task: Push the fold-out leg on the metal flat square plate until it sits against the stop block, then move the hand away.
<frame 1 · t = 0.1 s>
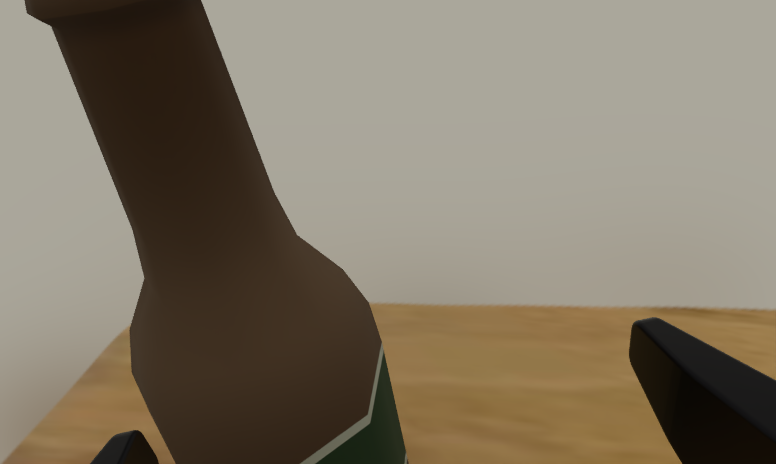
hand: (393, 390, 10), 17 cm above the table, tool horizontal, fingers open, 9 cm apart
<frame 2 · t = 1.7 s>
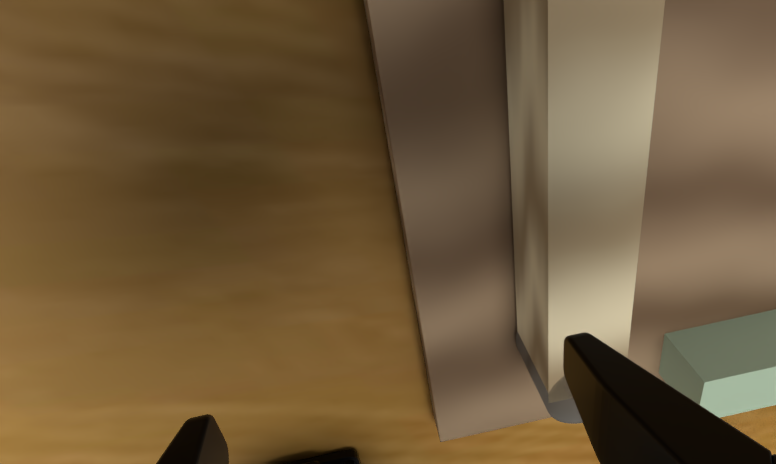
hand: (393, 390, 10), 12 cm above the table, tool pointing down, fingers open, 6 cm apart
fold-out leg: (571, 224, 19), point 4 cm above the table, hinge at 0.0°
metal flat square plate: (651, 190, 23), on the table
stop block: (742, 336, 27), resting on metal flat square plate
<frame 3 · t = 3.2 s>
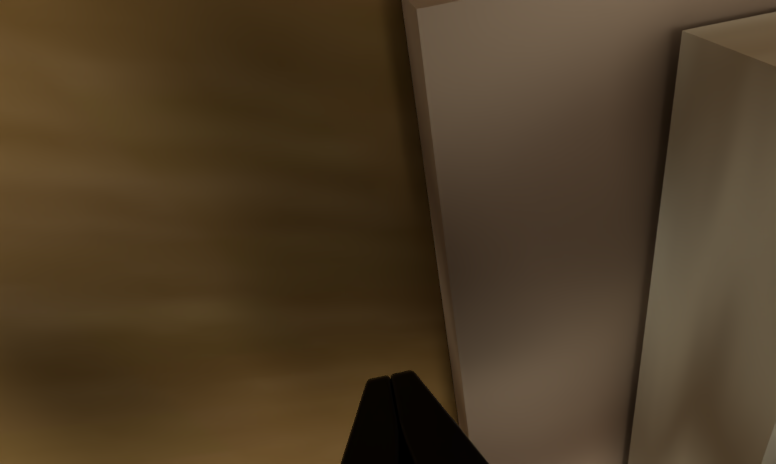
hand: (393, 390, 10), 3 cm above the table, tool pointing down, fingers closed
fold-out leg: (748, 441, 12), point 4 cm above the table, hinge at 0.0°
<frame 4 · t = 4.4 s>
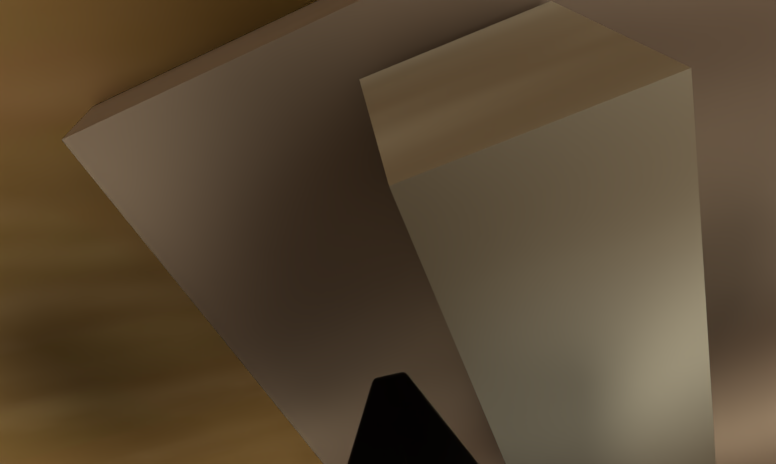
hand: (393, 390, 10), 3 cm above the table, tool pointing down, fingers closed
fold-out leg: (590, 459, 11), point 4 cm above the table, hinge at -2.1°, touching gripper
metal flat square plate: (719, 313, 15), on the table
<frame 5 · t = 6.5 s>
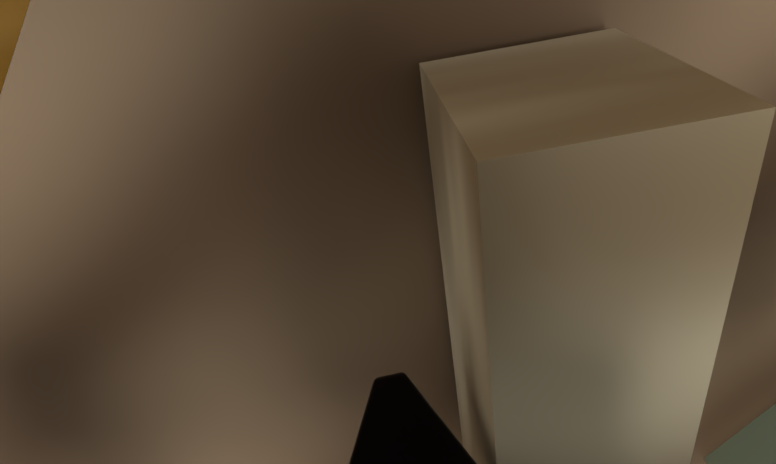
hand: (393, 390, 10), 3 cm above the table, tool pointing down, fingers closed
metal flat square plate: (483, 347, 14), on the table
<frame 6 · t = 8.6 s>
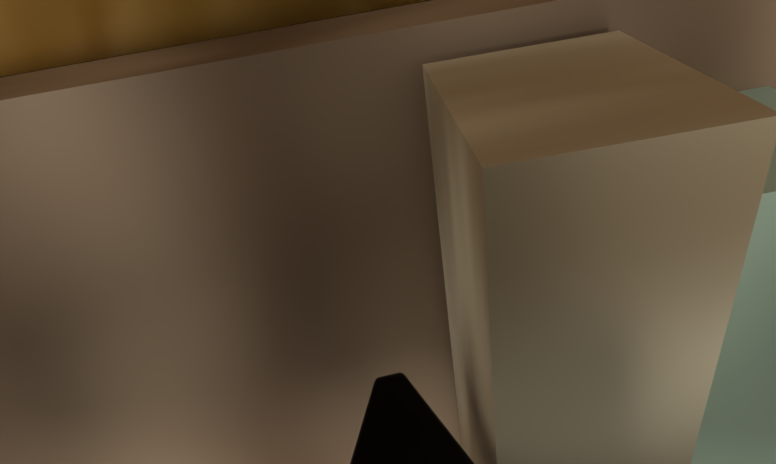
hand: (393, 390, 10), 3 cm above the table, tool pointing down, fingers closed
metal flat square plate: (320, 432, 15), on the table
stop block: (664, 282, 12), resting on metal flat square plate
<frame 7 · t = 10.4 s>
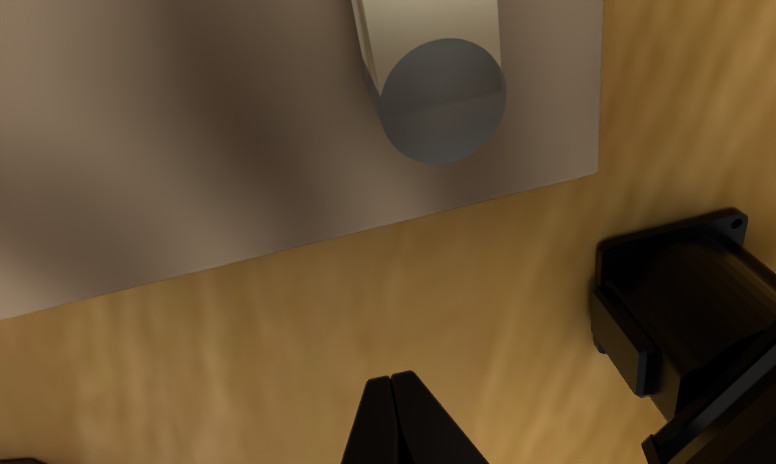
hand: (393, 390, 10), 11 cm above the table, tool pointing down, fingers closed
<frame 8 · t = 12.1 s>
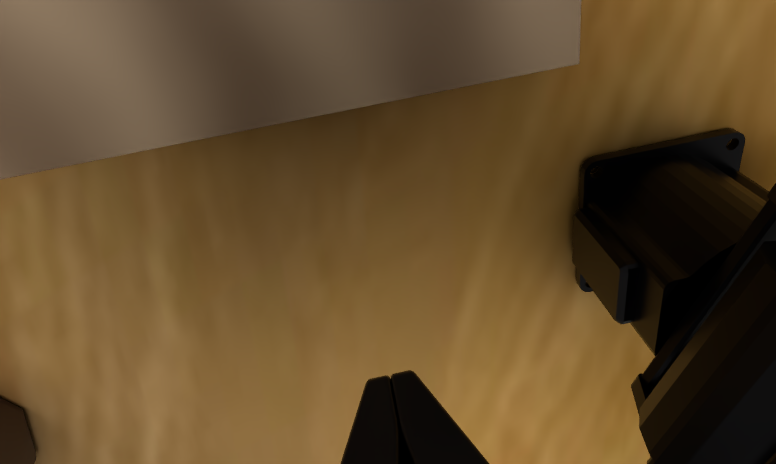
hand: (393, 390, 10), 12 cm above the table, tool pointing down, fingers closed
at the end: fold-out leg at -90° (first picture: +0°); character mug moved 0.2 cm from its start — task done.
